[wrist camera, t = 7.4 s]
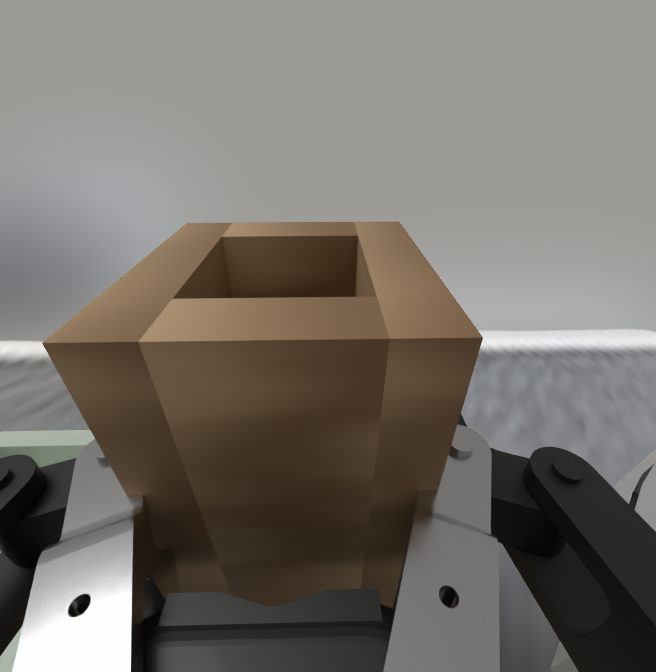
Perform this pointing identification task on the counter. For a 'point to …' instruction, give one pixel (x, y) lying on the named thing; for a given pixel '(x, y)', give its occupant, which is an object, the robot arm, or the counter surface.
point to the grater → (652, 505)
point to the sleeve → (275, 399)
